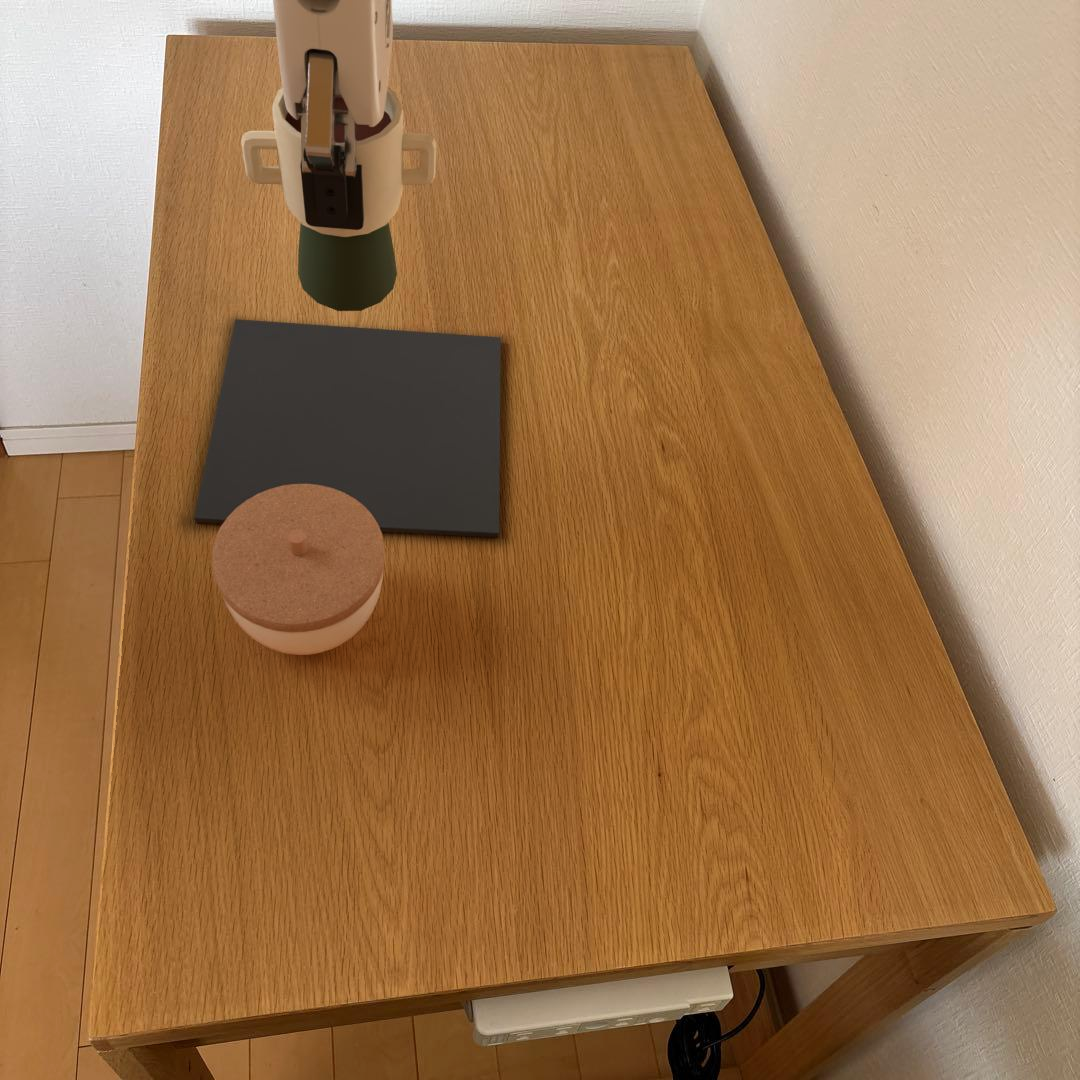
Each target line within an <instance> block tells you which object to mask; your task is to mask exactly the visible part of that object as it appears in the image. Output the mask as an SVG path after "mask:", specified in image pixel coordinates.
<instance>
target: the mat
mask: <svg viewBox="0 0 1080 1080" xmlns="http://www.w3.org/2000/svg"><path fill="white" fill-rule="evenodd" d="M501 355H502V338H501V336H487V335H474V334H473V335H471V334H457V333H442V332H429V331H427V332H426V331H413V330H401V329H400V330H398V329H385V328H372V327H371V328H367V327H355V326H341V325H340V326H339V325H327V324H312V323H311V324H310V323H297V322H296V323H295V322H282V321H268V320H255V319H254V320H253V319H238V318H237V319H235V320H234V324H233V329H232V334H231V338H230V343H229V348H228V353H227V356H226V357H227V358H226V362H225V367H224V371H223V377H222V381H221V387H220V391H219V396H218V401H217V405H216V411H215V416H214V420H213V424H212V425H213V426H212V430H211V435H210V440H209V445H208V449H207V453H206V459H205V464H204V467H203V468H204V469H203V474H202V477H201V483H200V487H199V492H198V497H197V502H196V507H195V512H194V516H193V520H194V523H197V524H216V525H218V524H219V525H222V524H223V523H224V522H225V520H226V519H227V517H228V516H229V515H230V514H231V513H232V512H233V511H234V510H235V509H236V508H237V507H238V506H240V505H241V504H242V503H244V502H245V501H246V500H248V499H250V498H252V497H253V496H255V495H257V494H259V493H261V492H264V491H266V490H269V489H272V488H276V487H279V486H283V485H291V484H314V485H321V486H326V487H330V488H333V489H336V490H339V491H341V492H344V493H346V494H347V495H349V496H351V497H353V498H354V499H356V500H357V501H358V502H360V503H361V504H362V505H363V506H365V508H366V509H367V510H368V511H369V512H370V513H371V514H372V515H373V517H374V519H375V520H376V522H377V523H378V525H379V528H380V530H381V533H383V532H384V533H399V534H401V533H402V534H403V533H404V534H423V535H445V536H462V537H464V536H465V537H483V538H499V536H500V488H501V487H500V486H501V485H500V483H501V482H500V481H501V480H500V476H501V474H500V473H501V470H500V469H501V466H500V465H501V376H502V375H501V372H502V371H501V367H502V365H501V362H502V359H501V358H502V356H501Z"/></svg>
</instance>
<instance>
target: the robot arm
mask: <svg viewBox="0 0 1080 1080" xmlns="http://www.w3.org/2000/svg"><path fill="white" fill-rule="evenodd" d="M392 1H393V0H272V2H273V15H274V25H275V35H276V45H277V46H276V47H277V54H278V63H279V73H280V80H281V88H283V94H284V100H285V105H286V109H287V111H288V112H289V113H290V115H291V116H292V117H293V118H295V119H296V120H299V118H300V115H301V154H302V160H301V164H300V168H301V178H302V189H303V199H304V209H305V219H306V223H307V224H308V225H310V226H313V227H326V228H338V229H350V230H360V229H362V227H363V223H364V205H363V180H362V165H358V164H356V151H357V124H359V125H369V127H374V126H376V125H377V124H378V123H379V122H380V121H381V119H382V118H383V115H384V109H385V103H386V95H387V87H389V78H390V71H391V70H390V69H391V62H392V52H393V51H392V50H393V40H394V38H393V37H394V23H393V22H394V20H393V2H392ZM335 97H336V98H343V99H344V101H345V103H346V105H347V107H348V111H346V110H336V109H335ZM334 124H338V125H345V152H344V150H343V148H342V147H341V146H340V145H335V138H334Z"/></svg>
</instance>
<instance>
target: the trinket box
mask: <svg viewBox="0 0 1080 1080" xmlns="http://www.w3.org/2000/svg"><path fill="white" fill-rule="evenodd" d="M385 552H386V551H385V541H384V537H383V532H381V530H380V528H379V525H378V523H377V522H376V520H375V519H374V517H373V515H372V514H371V513H370V512H369V511H368V510H367V509H366V508H365V506H363V505H362V504H361V503H360V502H358V501H357V500H356V499H354V498H353V497H351V496H349V495H347V494H346V493H344V492H341V491H339V490H336V489H333V488H330V487H326V486H321V485H314V484H291V485H283V486H279V487H276V488H272V489H269V490H266V491H264V492H261V493H259V494H257V495H255V496H253V497H252V498H250V499H248V500H246V501H245V502H244V503H242V504H241V505H240V506H238V507H237V508H236V509H235V510H234V511H233V512H232V513H231V514H230V515H229V516H228V517H227V519H226V520H225V522H224V523H223V524H221V526H220V528H219V530H218V532H217V534H216V536H215V539H214V542H213V546H212V549H211V566H212V567H211V568H212V573H213V577H214V580H215V583H216V586H217V588H218V590H219V592H220V594H221V596H222V599H223V602H224V603H225V606H226V608H227V609H228V611H229V613H230V615H231V616H232V618H233V620H234V621H235V622H236V623H237V625H238V626H239V627H240V629H242V630H243V632H245V634H247V635H248V636H249V637H250V638H251V639H252V640H254V641H255V642H257V643H259V644H260V645H262V646H263V647H265V648H268V649H270V650H273V651H275V652H278V653H283V654H286V655H296V656H307V655H308V656H309V655H315V654H320V653H324V652H328V651H330V650H333V649H336V648H338V647H339V646H341V645H343V644H345V643H346V642H347V641H349V640H350V639H352V638H353V637H354V636H355V635H356V634H357V633H358V632H359V631H360V630H361V629H362V628H363V627H364V626H365V625H366V624H367V622H368V621H369V619H370V617H371V615H372V614H373V613H374V611H375V608H376V607H377V603H378V600H379V598H380V594H381V590H382V585H383V578H384V568H385V567H384V566H385V560H386V559H385V558H386V555H385Z"/></svg>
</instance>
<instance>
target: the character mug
mask: <svg viewBox="0 0 1080 1080" xmlns="http://www.w3.org/2000/svg"><path fill="white" fill-rule="evenodd" d="M335 109H336V110H346V111H348V107H347V105H346V103H345V101H344V99H343V98H336V97H335ZM403 109H404V108H403V105H402V104H401V102H400V99H399V98H398V95H397V93H396V92H395V91H394V90H393V89H392V88H390V86H388V87H387V95H386V103H385V109H384V115H383V118H382V119H381V121H380V122H379V123H378V124H377V125H376V126H374V127H369V125H359V124H357V151H356V164H358V165H362V180H363V205H364V223H363V227H362V229H360V230H350V229H338V228H326V227H313V226H310V225H308V224H307V223H306V219H305V209H304V199H303V189H302V178H301V168H300V164H301V160H302V154H301V115H300V118H299V120H296V119H295V118H293V117H292V116H291V115H290V113H289V112H288V111H287V109H286V105H285V100H284V94H283V88H282V87H281V88H280V89H278V90H277V92H276V95H275V97H274V100H273V102H272V110H271V111H272V122H273V128H274V129H273V130H250V131H246V132H244V133H242V136H241V139H240V145H241V151H242V158H243V164H244V171H245V174H246V176H247V178H248V180H249V182H251V183H253V184H256V185H280V187H281V191H282V194H283V198H284V201H285V204H286V206H287V208H288V210H289V212H290V213H291V214H292V215H293V216H294V217H295V218H296V220H297V221H298V222H299V223H300V224H299V225H300V226H299V239H298V252H297V276H298V279H299V282H300V285H301V288H302V290H303V291H304V292H305V293H306V294H307V295H308V296H309V297H310V298H311V299H313V301H314V302H316V303H317V304H318V305H321V306H324V307H326V308H329V309H332V310H334V311H337V312H362V311H364V310H367V309H369V308H371V307H373V306H375V305H377V304H380V303H381V302H383V300H384V299H386V297H387V296H388V295H389V294H390V293H391V292H392V291H393V290H394V289H395V284H396V280H397V276H398V270H397V269H398V268H397V261H396V254H395V249H394V243H393V239H392V234H391V228H390V221H391V220H392V219H393V217H394V216H395V215H396V214H397V213H398V210H399V207H400V204H401V201H402V196H403V191H404V186H427V185H430V184H432V183H433V182H434V180H435V177H436V174H437V172H436V169H437V142H436V139H435V137H434V136H433V135H431V134H428V133H425V132H404V110H403ZM334 138H335V145H340V146H341V147H342V148H343V150H344V152H345V125H338V124H334ZM261 150H276V156H277V162H278V163H277V164H278V165H277V166H275V165H273V166H267V165H265V166H264V165H263V163H262V155H261ZM404 152H419V159H418V160H419V161H418V162H419V163H418V167H404Z"/></svg>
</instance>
